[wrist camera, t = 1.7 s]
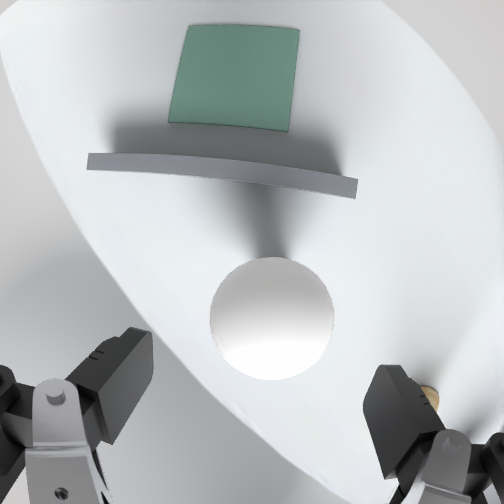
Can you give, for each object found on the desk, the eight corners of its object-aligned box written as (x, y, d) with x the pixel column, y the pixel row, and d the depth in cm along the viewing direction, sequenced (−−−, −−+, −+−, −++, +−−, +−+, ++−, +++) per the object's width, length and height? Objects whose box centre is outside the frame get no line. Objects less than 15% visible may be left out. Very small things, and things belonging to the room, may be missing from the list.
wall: (343, 180, 20) (358, 179, 16) (341, 196, 20) (355, 198, 16) (116, 157, 21) (88, 153, 17) (114, 171, 21) (86, 169, 17)
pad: (299, 32, 17) (299, 30, 17) (287, 132, 19) (287, 130, 19) (190, 28, 18) (188, 26, 17) (169, 122, 20) (168, 121, 19)
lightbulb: (242, 225, 21) (205, 263, 10) (323, 242, 21) (366, 295, 10) (228, 301, 23) (189, 388, 12) (303, 316, 22) (319, 413, 12)
